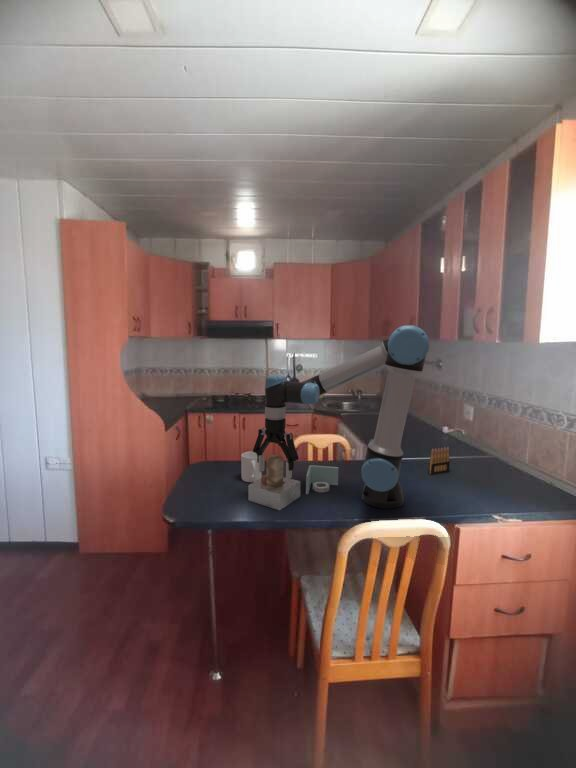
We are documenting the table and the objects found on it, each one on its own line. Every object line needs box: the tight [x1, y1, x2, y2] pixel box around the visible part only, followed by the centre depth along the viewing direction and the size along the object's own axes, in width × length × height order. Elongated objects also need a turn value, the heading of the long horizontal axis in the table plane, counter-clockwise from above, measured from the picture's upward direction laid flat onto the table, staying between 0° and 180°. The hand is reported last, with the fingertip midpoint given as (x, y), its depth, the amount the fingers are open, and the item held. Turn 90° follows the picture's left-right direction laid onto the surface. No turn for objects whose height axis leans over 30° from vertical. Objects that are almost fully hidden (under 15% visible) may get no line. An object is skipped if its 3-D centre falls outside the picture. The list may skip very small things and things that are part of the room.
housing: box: [247, 474, 301, 511], centre depth 137 cm, size 14×14×8 cm
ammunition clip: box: [427, 446, 451, 476], centre depth 165 cm, size 11×2×12 cm, turn 112°
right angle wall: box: [305, 464, 340, 495], centre depth 146 cm, size 12×12×8 cm
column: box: [265, 454, 284, 488], centre depth 137 cm, size 5×5×16 cm
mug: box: [240, 451, 263, 483], centre depth 154 cm, size 9×12×11 cm
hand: (274, 474), depth 136 cm, fingers open, 12 cm apart
